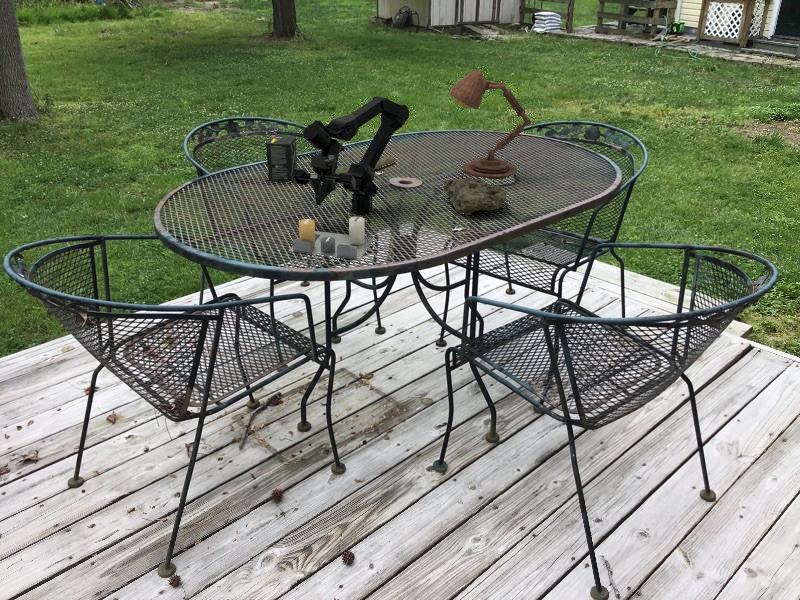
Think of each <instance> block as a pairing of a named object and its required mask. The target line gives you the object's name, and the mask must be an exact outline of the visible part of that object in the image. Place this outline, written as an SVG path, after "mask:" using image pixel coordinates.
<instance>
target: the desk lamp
mask: <svg viewBox="0 0 800 600" xmlns="http://www.w3.org/2000/svg"><path fill="white" fill-rule="evenodd" d="M486 79H487V78H486V77H485V76H484V75H483V72H482V70H479V69H476V70H473V71H471V72H469V73H468V74H467V75H465V76H464V77H462V79H460V80H458V81H457V82H455V84H454V85H453V86H452V87H451V89H450V91H449V95H450V96H451V97H453V99H454V101H455V103H456V104H457V106H459V107H461V108H463V109H471V108H472V109H474V110H477V109H478V108H479V107H480V106H481V103H482V100H483V95H484V94H485V93H486V91H488V90H502V91H503V92H502V96H503V97H504V98H505V99H506V101H507V102H508V103H509V104H510V106H511V108H512V109H513V111H514V112H515V113H516V116H517V117H521V118H522V119H523V123H522V124H520V123H519V124H517V125H516V126H515V128H513V129H512V130H511V131H509V133H507V134H506V135H505V136H504V137H503V138H501V139H500V141H498V142H496V145H495V147H494V148H493V149H489V150H488V152H487V156H484V157H480V158H475V159H473V160H472V161H468V162H466V163H464V164H463V165H462V169H463V171H465V172H466V173H467V174H469V175H472V176H477V177H481V178H482V177H483V178H489V179H503V178H506V177H509V176H511V175H513V174H515V175H516V173H517V171H518V169H517V167H516V166H514V165H512V164H509V163H508V162H507V161H506V160H502V159H500V158H498V157H495V154H496V152H497V151H498V150H503V149H504V148H505V147H506V146H507V145H509V143H511V142H512V141H513V140H514V139H515V138H517V137H518V136H519V135H520V134H521V133H523V132H524V131H525V129H524V128H525V127H526V126H527V127H528V126H530V125H531V124H532V120H531V119H530V118H528V117H527V115H526V109H525V108H523V106H522V105H521V104H520V103H519V101H518V98H517V97H516V96H515V95H514V93H512V92H513V91H512V90H511V88H508V89H507V85H506V84H505V83H504V82H503V81H491V80H486Z"/></svg>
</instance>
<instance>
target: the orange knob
mask: <svg viewBox="0 0 800 600" xmlns="http://www.w3.org/2000/svg"><path fill="white" fill-rule="evenodd" d="M315 223H316V222H315V220H314V219H311V218H304V219H300V220H299V221H298V230H299V231H298V233H299V234H298V235H299V239H301V240H309V241H313V247H314V246H315V231H316V226H315V225H316V224H315Z"/></svg>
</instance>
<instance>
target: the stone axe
mask: <svg viewBox="0 0 800 600" xmlns="http://www.w3.org/2000/svg"><path fill="white" fill-rule="evenodd" d="M394 161H395V162H396V158H395V157H393V156H385V157H383V158H380V159H379V161H378V162H377V164H376V166H375V168H374V170H375V169H377V168H380V167H382V166H384V165H387V164H390V163H392V162H394ZM350 166H351V165H350ZM350 166H347V165H345V166H344V165H343V166H341V165H340V166H338V168H337V169H336V171H335V174H338V175H337V176H339V174H340V173H341V172H342V173H346V172H347V171H348V170H349V168H350ZM375 171H376V170H375Z"/></svg>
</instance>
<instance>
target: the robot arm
mask: <svg viewBox="0 0 800 600" xmlns="http://www.w3.org/2000/svg"><path fill="white" fill-rule="evenodd" d="M379 114H380V125H379V127H378V129H377V130H376V132H375V135H374V136H373V138H372V140H371V142H370V143H369V145H368V147H367V148H366V151H365V152H364V154H363V156H362V158H361V160H360V161H359V162H357V163H354V162H353V163H351V164H350V168H349V170H348V171H347V172H346V173H342V172H341V173H340V174H339V175H335V171H336V169H337V168H338V167H339V166H338V162H339V157H340V153H341V152H345V151H346V149H345V146H344V145H343V142H350V141H351V140H353V138H354V137H355V136H356V135H357V134H358V132H359V129H360V128H361V127H362V126H364V125H365V124H366V123H368V122H370V121H371V120H373V119H374V118H375V117H377V116H379ZM409 117H410V109H409V107H408V106H407V105H405V104H400V103H397V102H395V101H392V100H390V99H388V97H384V96H379V95H376V96H374V97H373V98H372V99H371V100H370V101H368V102H367V103H365V104H364V105H362V106H361V107H359V108H357V109H356V110H354V111H353V112H351V113H349V114H347V115H343V116H338V117H336V118H334V119H332V120H330V121H329V123H327V124H326V125H324V124H323V122H322V121H321V120H317V119H315V120H314V122H312V123H310V124H308V125H307V127H304V129H303V133H302V137H303V139H304V140H305V141H306V142H307V143H309V144H310V145H311V146H312V147H313V148H314V149H316V151H317V150H318V151H320V152H319V154H318V155H311V157H310V168H312V171H313V172H310V173H308V170H307V169H306V168H300V167H297V168H294V169H293V170H292V173H291V176H292V178H293V180H294V181H293V182H294V183H295V184H297V185H300V186H307V185H308V184H310V185H311V186H312V188H313V191H314V197H315V205H316V206H320V205H321V204H322V203H323V202H324V201H325V199H326V198H327V197H328V196H330V194H331V193H333V191H337V184H342V187H343V188H344V189H345V190H347V191H348V192H349V193H350V192H351V193H352V196H351V197H352V198H351V207H350V208H348V209H349V211H350V212H353V213H356V214H358V215H360V216H365V215H367V214H370V213H373V212H375V211H374V209H375V210H376V208H374V207H373V197H374V196H376V195H377V193H378V186H376V185H375V183H374V179H375V171H374V168H375V166H376V164H377V162H378V161H379V159H381V158H382V157H381V156H382V155H383V154H384V151H385V149H386V147H387V146H388V144H389V142H390V141H391V138H392V137H393V135H394V133H395V132H396V131H398V130H400V129H402V127H404V125H405V124H406V122H407V121H408V120H409ZM339 141H343V142H339ZM372 211H373V212H372ZM376 211H377V210H376Z"/></svg>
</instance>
